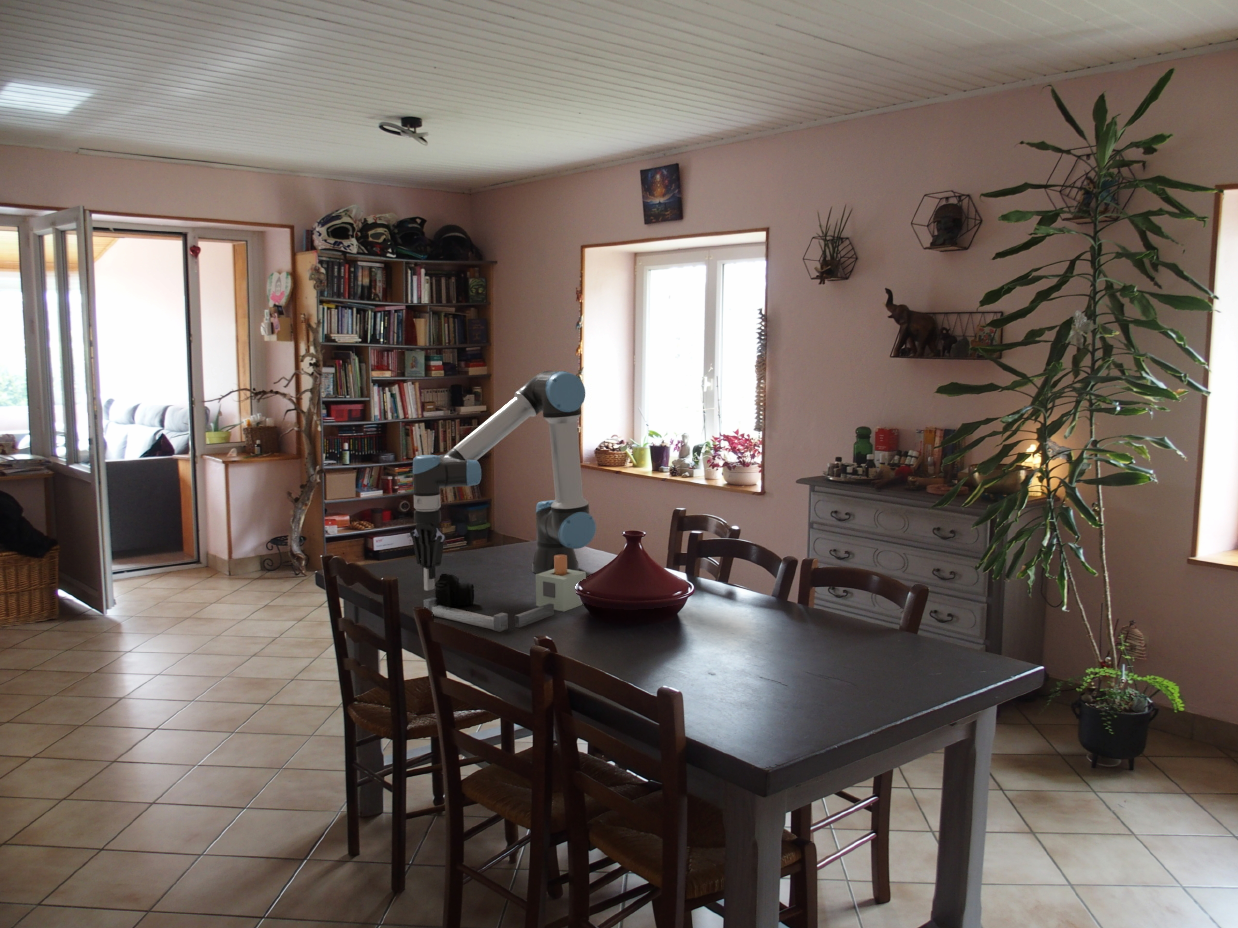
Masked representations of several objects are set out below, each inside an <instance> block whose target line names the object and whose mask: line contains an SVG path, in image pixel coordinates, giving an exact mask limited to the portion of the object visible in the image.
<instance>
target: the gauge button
mask: <svg viewBox="0 0 1238 928" xmlns="http://www.w3.org/2000/svg"><path fill="white" fill-rule="evenodd" d="M554 575H559V576H564V575H567V555H555V556H554Z"/></svg>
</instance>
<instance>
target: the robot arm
mask: <svg viewBox="0 0 1238 928" xmlns="http://www.w3.org/2000/svg"><path fill="white" fill-rule="evenodd" d="M585 399H586V387H585V385H584V383H583V381H582V380H581V379H580V378H579V377H578V376H577V375H576V374H574V373H571V372H569V371H565V370H564V371H563V370H561V371H560V370H555V371H554V370H544V371H542V372H540V373H538V374H536V375H535V376H534V377H532V378H531V379H530V380H529V381H527V382H525V384H523V386H521V387H520V388H518V390H517V391H515V392H514V397H513V398H512V399H510V400H509V401H508V402H507V403H506V404H505V405H503V406H502V407H501V408H500V409H499V410H497V411H496V412H495V413H494V414H492V415H491V416H490V417H488V419H486V420H485V421H484V422H483V423H481V424H480V425H479V426H478V427H477V428H476V429H474V430H473V431H472V432H471V433H469V435H467V436H466V437H464V439H462V440H461V441H460V442H459V443H457V444H456V445H455V446H453V447H452V448H451V449H450V450H449V451H447V452H446V453H444V454H440V455H438V454H437V455H436V454H435V455H434V454H421V455H416V456H415V457H414V458H413V461H412V481H413V482H412V483H413V485H412V486H413V508H414V509H415V510H414V511H413V521H414V524H416V525H415V529H414V530H411V531H409V535H410V538H411V540H412V545H413V550H414V557H415V560H416V561H415V562H416V564H417V565H420V567H421V569H422V577H423V578H422V579H423V590H424V591H431V590H435V589H436V586H435V583H436V582H435V579H436V567H439V566H441V565H442V558H443V551H444V547H445V542H446V539H447V534H443V533H441V529H440V525H439V524H440V523H441V521H442V514H441V513H442V512H441V510H440V508H441V506H442V505H441V488H456V487H472V486H477V485H479V484H480V482H481V480H482V468H481V464H480V462H479V461H478V460H479V459H480V458H481V457H483V456H484V455H485V454H486V453H488V452H489V451H491V449H492V448H494V447H495V446H496V445H497V444H498V443H499V442H500V441H502V440H503V439H504V438H506V437H507V436H508V435H509V434H511V433H512V432H513V431H514V430H516V429H517V428H518V427H519V426H520V425H521V424H522V423H524V422H525V421H527V420H528V419H529V418H530V417H534V418H535V417H536V416H537V415H538V414H540V413H541V412H542V416H543V417H542V418H543V419H544V420H545V421H546V422H547V423H548V429H549V441H550V452H551V463H552V464H551V465H552V472H553V473H552V475H553V476H552V477H553V486H554V496H555V497H554V499H550V500H542V501H539V502H537V503H536V507H535V509H536V510H535V519H536V521H535V522H536V523H535V524H536V550H535V553H534V556H533V560H532V563H531V572H532V573H534V574H535V575H536V574H539V573H542V572H546V571H549V570H552V569H554V556H555V555H567V569H570V570H576V571H580V570H579V569H580V567H579V564H580V563H579V561H578V559H577V554H576V551H575V549H576V550H577V549H582V548H585V547H586V546H588V545H589V544H590V543H591V542H592V540H593V539H594V537H595V535H596V531H597V524H596V521H595V519H594V517H593V515H591V514H590V505H589V503H590V502H589V501H588V500H587V499H586V498H585V497H584V493H583V492H584V491H583V481H582V480H583V479H582V468H581V466H582V465H581V455H580V454H581V453H580V444H579V443H580V442H579V433H578V432H579V431H578V419H579V418H581V416H582V407H581V406H582V405H583V403H584V401H585Z"/></svg>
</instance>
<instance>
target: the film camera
mask: <svg viewBox="0 0 1238 928" xmlns="http://www.w3.org/2000/svg"><path fill="white" fill-rule="evenodd" d="M438 578H439V579H438V580H437V581H436V582H434V583H435V589H434V590H435V591H434V595H435V596H434V598H437V605H441V606H445V607H450V608H454V607H456V606H469V605H473V604H474V601H475V589H474V588H475V586H474V584H473V583H469V582H459V581H460V578H459V577H457V576H456V575H455V574H450V573H441V574H440V575H439V577H438Z"/></svg>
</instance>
